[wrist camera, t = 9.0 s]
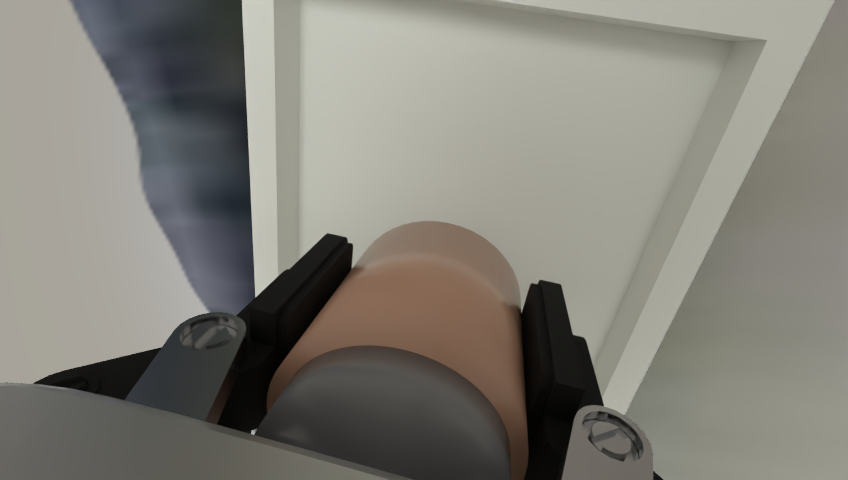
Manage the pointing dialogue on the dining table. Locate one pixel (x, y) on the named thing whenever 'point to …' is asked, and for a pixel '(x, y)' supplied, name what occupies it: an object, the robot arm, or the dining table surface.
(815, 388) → the dining table surface
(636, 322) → the tray
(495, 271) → the shaker
